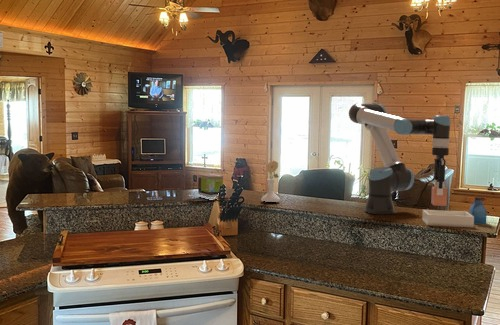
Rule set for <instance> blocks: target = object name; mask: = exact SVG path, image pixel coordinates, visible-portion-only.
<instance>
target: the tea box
mask: <svg viewBox="0 0 500 325" xmlns="http://www.w3.org/2000/svg"><path fill="white" fill-rule="evenodd" d="M197 178H198V179H197V180H198V182H197V184H198V186H197V187H198V188H197V192H198V193H197V194H200V195H203V196H206V197H215V196H217V195H218V193H219V187H220V186H222V185H223V186H224V176H223V175H221V174H213V173H200V174H198V177H197Z"/></svg>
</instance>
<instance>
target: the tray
mask: <svg viewBox="0 0 500 325" xmlns="http://www.w3.org/2000/svg"><path fill="white" fill-rule="evenodd" d="M422 221H423V222H424V224H425V225H426V226H432V227H454V228H474V224H475V223H474V216H472V215H471V214H470V213H469V211H467V210H466V211H464V210H463V211H462V210H440V209H439V210H438V209H422Z"/></svg>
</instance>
